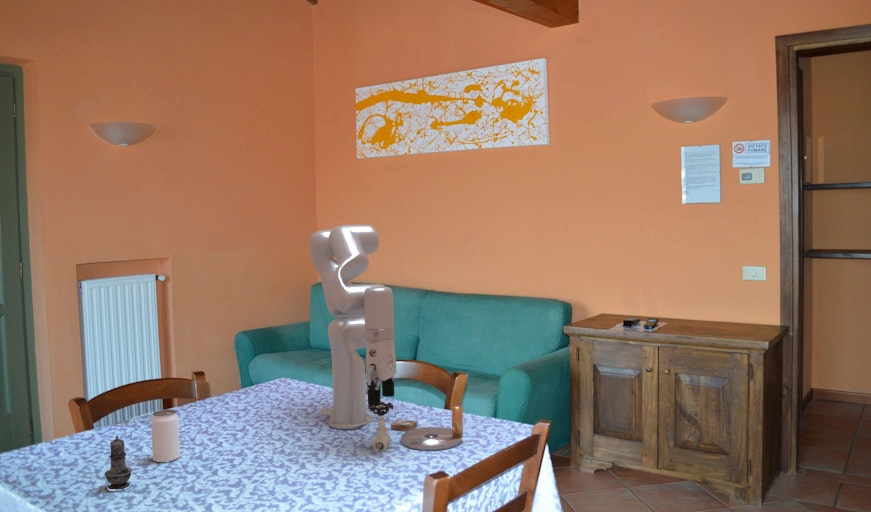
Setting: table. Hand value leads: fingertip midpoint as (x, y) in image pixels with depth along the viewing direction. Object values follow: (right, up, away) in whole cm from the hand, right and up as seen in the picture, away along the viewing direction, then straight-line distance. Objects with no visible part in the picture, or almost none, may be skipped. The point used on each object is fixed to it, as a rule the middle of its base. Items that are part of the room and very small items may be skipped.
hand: (381, 400), depth 185 cm
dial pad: (+5, -12, +17) cm, 22 cm away
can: (-55, -15, -2) cm, 57 cm away
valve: (0, -13, +1) cm, 14 cm away
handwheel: (+13, -12, +6) cm, 18 cm away
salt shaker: (-58, -16, -21) cm, 64 cm away
